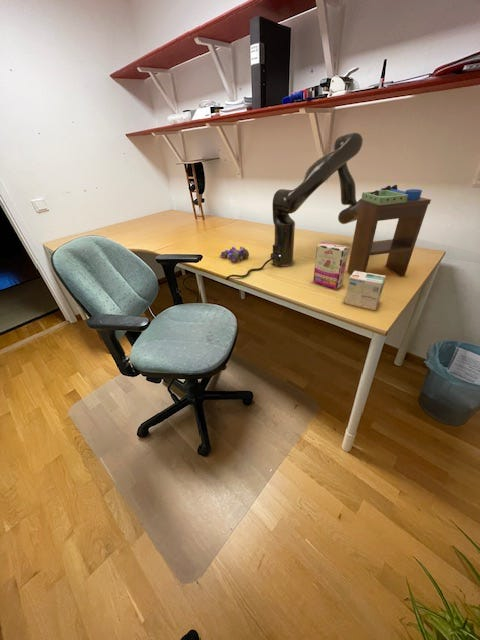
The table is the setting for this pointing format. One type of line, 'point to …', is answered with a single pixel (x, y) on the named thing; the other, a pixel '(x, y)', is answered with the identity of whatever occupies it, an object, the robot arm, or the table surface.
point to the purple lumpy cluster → (235, 254)
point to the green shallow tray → (385, 197)
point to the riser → (397, 247)
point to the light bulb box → (364, 289)
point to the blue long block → (410, 193)
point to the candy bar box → (330, 264)
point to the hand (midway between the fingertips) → (393, 187)
